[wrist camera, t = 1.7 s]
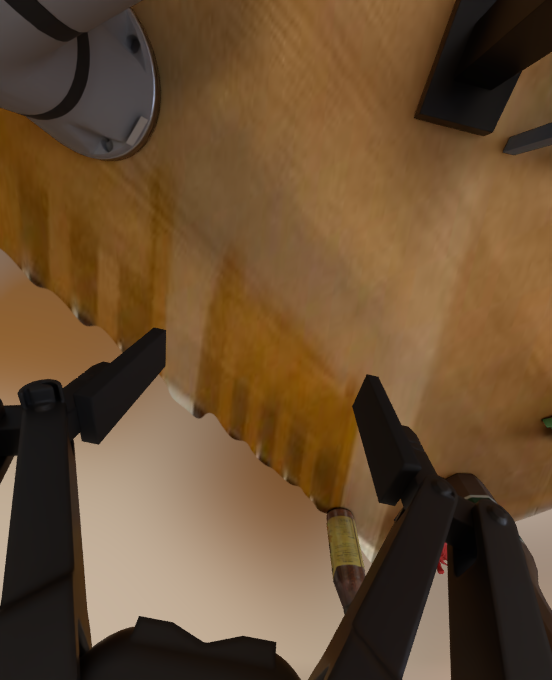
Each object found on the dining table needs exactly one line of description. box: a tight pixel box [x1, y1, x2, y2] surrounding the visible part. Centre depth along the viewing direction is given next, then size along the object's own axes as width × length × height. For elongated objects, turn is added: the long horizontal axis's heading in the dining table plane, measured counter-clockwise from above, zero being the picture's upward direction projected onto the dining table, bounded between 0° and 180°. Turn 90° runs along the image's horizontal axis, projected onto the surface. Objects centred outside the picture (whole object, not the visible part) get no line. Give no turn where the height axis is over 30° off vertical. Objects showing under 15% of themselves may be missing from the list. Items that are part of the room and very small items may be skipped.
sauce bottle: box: [327, 508, 365, 614], centre depth 51 cm, size 7×6×20 cm
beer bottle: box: [445, 474, 552, 652], centre depth 42 cm, size 8×8×24 cm
